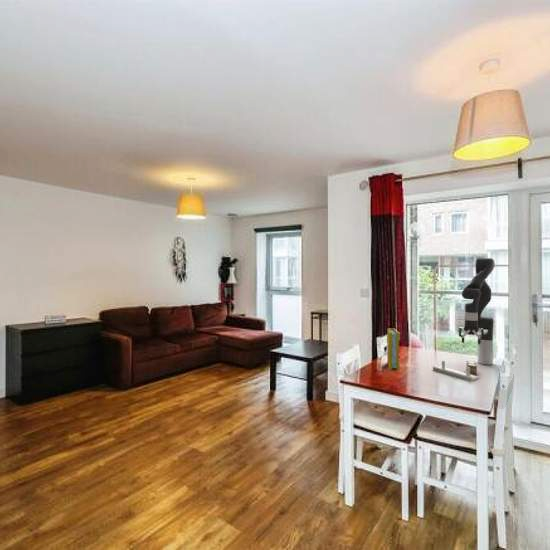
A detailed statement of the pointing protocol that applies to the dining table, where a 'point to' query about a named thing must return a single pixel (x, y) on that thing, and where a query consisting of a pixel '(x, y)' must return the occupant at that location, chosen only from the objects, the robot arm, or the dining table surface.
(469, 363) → the frame
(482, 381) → the dining table surface
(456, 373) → the board
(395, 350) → the book
